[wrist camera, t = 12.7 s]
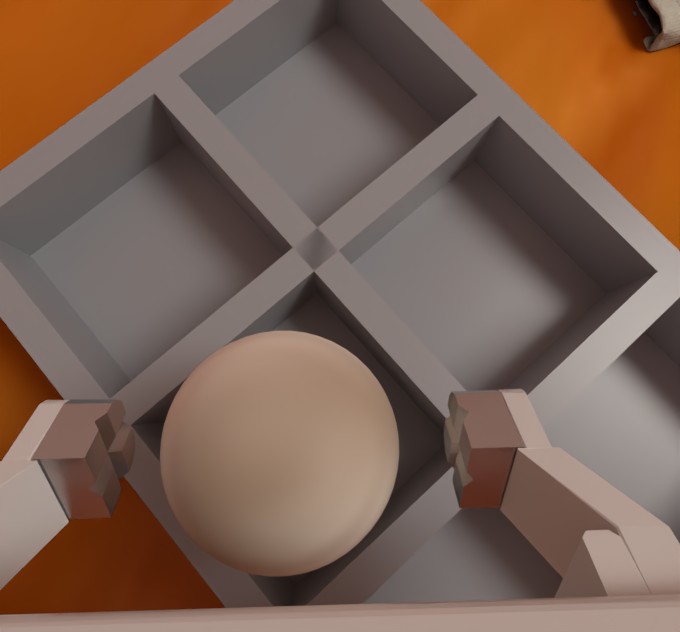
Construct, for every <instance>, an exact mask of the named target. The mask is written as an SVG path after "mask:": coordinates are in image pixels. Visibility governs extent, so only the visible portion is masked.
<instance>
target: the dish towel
mask: <svg viewBox="0 0 680 632" xmlns="http://www.w3.org/2000/svg"><path fill="white" fill-rule="evenodd" d="M635 2H636V5H637V7H638V9H639V11H640V12H641V14H642V15H643V16H644V18H645V20H646V22H647V23H648V25H649V27H650V29H651V30H652V31H653V35H651V36H647V37H646V38H644V40H643V43H644V45H645V47H646V49H647V51H649V52H652V51H656V50H661V49H665V48H667V47H670V46H672V45H675V44H678V43H680V0H635ZM633 15H635V16H637V12H636V11H635V10H634V11H633Z"/></svg>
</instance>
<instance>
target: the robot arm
mask: <svg viewBox="0 0 680 632" xmlns="http://www.w3.org/2000/svg"><path fill="white" fill-rule="evenodd" d="M448 408H449V412H450V416H449V417H448V418H447V419H446V420H445V426H444V446H445V453H446V457H447V462H448V464H449V465H450V466H452V467H453V468H454V473H453V479H452V482H453V486H454V489H455V493H456V497H457V501H458V505H459V508H501V509H500V510H501V511H502V513H503V514H504V515H505V516H506V517H507V518H508V519H509V520H510V521H511V522H512V523H513V524H514V526H515V527H516V528H517V529H518V530H519V531H520V532H521V533H522V534H523V535H524V536H525V538H526V539H527V540H528V541H529V542H530V543H531V544H532V545H533V546H534V547H535V548H536V549H537V551H538V552H539V553H540V554H541V555H542V556H543V557H544V558H545V559H546V560H547V561H548V562H549V564H550V565H551V566H552V567H553V568H554V569H555V570H556V571H557V572H558V573H559V574H560V575H561V577H562V578H563V580H562V582H561V584H560V586H559V589H558V591H557V593H556V595H555V597H554V598H533V599H500V600H467V601H435V602H403V603H370V604H338V605H306V606H273V607H241V608H209V609H177V610H144V611H111V612H78V613H45V614H12V615H0V632H680V543H679V542H678V540H677V539H676V537H675V535H674V534H673V532H672V530H671V529H670V527H669V526H668V525H666V524H665V523H663V522H662V521H661V520H659V519H658V518H656V517H655V516H654V515H652V514H651V513H650V512H648V511H647V510H645V509H644V508H643V507H641V506H640V505H638V504H637V503H636V502H634V501H633V500H632V499H630V498H629V497H627V496H626V495H625V494H623V493H622V492H621V491H619V490H618V489H616V488H615V487H614V486H612V485H611V484H609V483H608V482H607V481H605V480H604V479H603V478H601V477H600V476H598V475H597V474H596V473H594V472H593V471H592V470H590V469H589V468H587V467H586V466H585V465H583V464H582V463H580V462H579V461H578V460H576V459H575V458H574V457H572V456H571V455H569V454H568V453H567V452H565V451H564V450H562V449H561V448H560V447H552V446H551V444H550V442H549V440H548V438H547V435H546V433H545V431H544V429H543V427H542V425H541V423H540V421H539V419H538V417H537V415H536V413H535V411H534V409H533V407H532V405H531V403H530V401H529V399H528V396H527V394H526V392H525V391H523V390H522V389H504V390H480V391H451V393H450V395H449V399H448ZM125 414H126V411H125V408H124V406H123V403H122V401H120V400H117V399H70V400H45V401H44V402H42V403H40V404H39V405H38V407H37V408H36V410H35V411H34V413H33V414H32V416H31V417H30V419H29V420H28V422H27V423H26V425H25V426H24V428H23V429H22V431H21V432H20V434H19V435H18V437H17V438H16V440H15V441H14V443H13V445H12V446H11V448H10V449H9V451H8V452H7V454H6V455H5V457H4V458H3V460H2V461H0V590H1V589H2V588H3V587H4V586H5V585H6V584H7V583H8V582H9V581H10V580H11V579H12V578H13V577H14V576H15V575H16V574H17V573H18V572H19V571H20V570H21V569H22V568H23V567H24V566H25V565H26V564H27V563H28V562H29V561H30V560H31V559H32V558H33V557H34V556H35V555H36V554H37V553H38V552H39V551H40V550H41V549H42V548H43V547H44V546H45V545H46V544H47V543H48V542H49V541H50V540H51V539H52V538H53V537H54V536H55V535H56V534H57V533H58V532H59V531H60V530H61V529H62V528H63V527H64V526H65V525H66V524H68V523H69V521H68V520H73V519H92V518H110V517H111V516H112V514H113V511H114V509H115V506H116V504H117V501H118V499H119V496H120V494H121V491H122V488H121V485H120V482H119V479H121V478H122V477H123V476H124V475H125V474H127V473H128V472H129V470H130V468H131V465H132V462H133V459H134V451H135V439H134V434H133V431H132V428H131V427H130V426H129V425H127V424H126V423H125V422H123V419H124V417H125Z"/></svg>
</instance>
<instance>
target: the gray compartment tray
mask: <svg viewBox="0 0 680 632" xmlns="http://www.w3.org/2000/svg"><path fill="white" fill-rule="evenodd" d="M0 317H1V319H2V320H3V321H4V322H5V324H6V325H7V326H8V328H9V329H10V330H11V331H12V333H13V334H14V335H15V337H16V338H17V339H18V340H19V342H20V343H21V344H22V346H23V347H24V348H25V350H26V351H27V352H28V353H29V355H30V356H31V357H32V359H33V360H34V361H35V362H36V364H37V365H38V366H39V368H40V369H41V370H42V371H43V373H44V374H45V375H46V377H47V378H48V379H49V381H50V382H51V383H52V384H53V386H54V387H55V388H56V390H57V391H58V392H59V393H60V395H61V396H62V397H63V399H64V400H70V399H117V400H120V401H122V403H123V406H124V408H125V411H126V414H125V417H124V419H123V422H125V423H126V424H127V425H129V426H130V427H131V428H132V431H133V434H134V439H135V451H134V459H133V462H132V465H131V468H130V470H129V472H128V473H127V474H125V475H124V477H125V479H126V480H127V481H128V483H129V484H130V485H131V486H132V488H133V489H134V490H135V492H136V493H137V494H138V495H139V497H140V498H141V499H142V501H143V502H144V503H145V504H146V506H147V507H148V508H149V510H150V511H151V512H152V514H153V515H154V516H155V517H156V519H157V520H158V521H159V523H160V524H161V525H162V526H163V528H164V529H165V530H166V532H167V533H168V534H169V535H170V537H171V538H172V539H173V541H174V542H175V543H176V545H177V546H178V547H179V548H180V550H181V551H182V552H183V554H184V555H185V556H186V557H187V559H188V560H189V561H190V563H191V564H192V565H193V566H194V568H195V569H196V570H197V572H198V573H199V574H200V575H201V577H202V578H203V579H204V581H205V582H206V583H207V585H208V586H209V587H210V588H211V590H212V591H213V592H214V594H215V595H216V596H217V597H218V599H219V600H220V601H221V603H222V604H223V605H224V606H225V608H241V607H273V606H306V605H338V604H370V603H403V602H435V601H467V600H500V599H533V598H554V597H555V595H556V593H557V591H558V589H559V586H560V584H561V582H562V580H563V578H562V577H561V575H560V574H559V573H558V572H557V571H556V570H555V569H554V568H553V567H552V566H551V565H550V564H549V562H548V561H547V560H546V559H545V558H544V557H543V556H542V555H541V554H540V553H539V552H538V551H537V549H536V548H535V547H534V546H533V545H532V544H531V543H530V542H529V541H528V540H527V539H526V538H525V536H524V535H523V534H522V533H521V532H520V531H519V530H518V529H517V528H516V527H515V526H514V524H513V523H512V522H511V521H510V520H509V519H508V518H507V517H506V516H505V515H504V514H503V513H502V511H501V510H500V509H501V508H459V505H458V501H457V497H456V493H455V489H454V486H453V482H452V479H453V473H454V468H453V467H452V466H450V465H449V464H448V462H447V457H446V453H445V446H444V426H445V420H446V419H447V418H448V417H449V416H450V412H449V408H448V399H449V395H450V393H451V391H480V390H504V389H522V390H523V391H525V392H526V394H527V396H528V399H529V401H530V403H531V405H532V407H533V409H534V411H535V413H536V415H537V417H538V419H539V421H540V423H541V425H542V427H543V429H544V431H545V433H546V435H547V438H548V440H549V442H550V444H551V446H552V447H560V448H561V449H562V450H564V451H565V452H567V453H568V454H569V455H571V456H572V457H574V458H575V459H576V460H578V461H579V462H580V463H582V464H583V465H585V466H586V467H587V468H589V469H590V470H592V471H593V472H594V473H596V474H597V475H598V476H600V477H601V478H603V479H604V480H605V481H607V482H608V483H609V484H611V485H612V486H614V487H615V488H616V489H618V490H619V491H621V492H622V493H623V494H625V495H626V496H627V497H629V498H630V499H632V500H633V501H634V502H636V503H637V504H638V505H640V506H641V507H643V508H644V509H645V510H647V511H648V512H650V513H651V514H652V515H654V516H655V517H656V518H658V519H659V520H661V521H662V522H663V523H665V524H666V525H668V526H669V527H670V529H671V530H672V532H673V534H674V535H675V537H676V539H677V540H678V542H679V543H680V251H679V250H678V249H677V248H676V247H675V246H674V245H672V244H671V243H670V242H669V241H668V240H667V239H666V238H665V237H664V236H663V235H662V234H661V233H660V232H659V231H658V230H657V229H656V228H655V227H654V226H653V225H652V224H651V223H650V222H649V221H648V220H647V219H646V218H645V217H644V216H643V215H641V214H640V213H639V212H638V211H637V210H636V209H635V208H634V207H633V206H632V205H631V204H630V203H629V202H628V201H627V200H626V199H625V198H624V197H623V196H622V195H621V194H620V193H619V192H618V191H617V190H616V189H615V188H614V187H613V186H612V185H610V184H609V183H608V182H607V181H606V180H605V179H604V178H603V177H602V176H601V175H600V174H599V173H598V172H597V171H596V170H595V169H594V168H593V167H592V166H591V165H590V164H589V163H588V162H587V161H586V160H585V159H584V158H583V157H582V156H581V155H579V154H578V153H577V152H576V151H575V150H574V149H573V148H572V147H571V146H570V145H569V144H568V143H567V142H566V141H565V140H564V139H563V138H562V137H561V136H560V135H559V134H558V133H557V132H556V131H555V130H554V129H553V128H552V127H551V126H549V125H548V124H547V123H546V122H545V121H544V120H543V119H542V118H541V117H540V116H539V115H538V114H537V113H536V112H535V111H534V110H533V109H532V108H531V107H530V106H529V105H528V104H527V103H526V102H525V101H524V100H523V99H522V98H521V97H520V96H518V95H517V94H516V93H515V92H514V91H513V90H512V89H511V88H510V87H509V86H508V85H507V84H506V83H505V82H504V81H503V80H502V79H501V78H500V77H499V76H498V75H497V74H496V73H495V72H494V71H493V70H492V69H491V68H490V67H489V66H487V65H486V64H485V63H484V62H483V61H482V60H481V59H480V58H479V57H478V56H477V55H476V54H475V53H474V52H473V51H472V50H471V49H470V48H469V47H468V46H467V45H466V44H465V43H464V42H463V41H462V40H461V39H460V38H459V37H458V36H456V35H455V34H454V33H453V32H452V31H451V30H450V29H449V28H448V27H447V26H446V25H445V24H444V23H443V22H442V21H441V20H440V19H439V18H438V17H437V16H436V15H435V14H434V13H433V12H432V11H431V10H430V9H429V8H428V7H427V6H425V5H424V4H423V3H422V2H421V1H420V0H235V1H233V2H232V3H230V4H229V5H228V6H226V7H225V8H224V9H222V10H221V11H219V12H218V13H217V14H215V15H214V16H213V17H211V18H210V19H208V20H207V21H206V22H204V23H203V24H202V25H200V26H199V27H197V28H196V29H195V30H193V31H192V32H191V33H189V34H188V35H187V36H185V37H184V38H182V39H181V40H180V41H178V42H177V43H176V44H174V45H173V46H171V47H170V48H169V49H167V50H166V51H165V52H163V53H162V54H160V55H159V56H158V57H156V58H155V59H154V60H152V61H151V62H149V63H148V64H147V65H145V66H144V67H143V68H141V69H140V70H138V71H137V72H136V73H134V74H133V75H132V76H130V77H129V78H127V79H126V80H125V81H123V82H122V83H121V84H119V85H118V86H117V87H115V88H114V89H112V90H111V91H110V92H108V93H107V94H106V95H104V96H103V97H101V98H100V99H99V100H97V101H96V102H95V103H93V104H92V105H90V106H89V107H88V108H86V109H85V110H84V111H82V112H81V113H79V114H78V115H77V116H75V117H74V118H73V119H71V120H70V121H68V122H67V123H66V124H64V125H63V126H62V127H60V128H59V129H57V130H56V131H55V132H53V133H52V134H51V135H49V136H48V137H47V138H45V139H44V140H42V141H41V142H40V143H38V144H37V145H36V146H34V147H33V148H31V149H30V150H29V151H27V152H26V153H25V154H23V155H22V156H20V157H19V158H18V159H16V160H15V161H14V162H12V163H11V164H9V165H8V166H7V167H5V168H4V169H3V170H1V171H0ZM269 331H297V332H305V333H309V334H313V335H317V336H320V337H323V338H325V339H327V340H330V341H332V342H334V343H336V344H338V345H340V346H341V347H343V348H345V349H347V350H348V351H349V352H350V353H352V354H353V355H354V356H356V357H357V358H358V359H359V360H360V361H361V362H362V363H363V364H364V365H365V366H366V367H367V368H368V369H369V370H370V371H371V372H372V374H373V375H374V376H375V377H376V379H377V380H378V381H379V383H380V385H381V386H382V388H383V390H384V391H385V393H386V395H387V397H388V400H389V402H390V404H391V407H392V409H393V413H394V416H395V420H396V423H397V430H398V437H399V462H398V471H397V476H396V480H395V484H394V488H393V490H392V493H391V496H390V498H389V501H388V503H387V505H386V507H385V509H384V511H383V513H382V515H381V516H380V518H379V519H378V521H377V522H376V524H375V525H374V526H373V528H372V529H371V530H370V532H369V533H368V534H367V535H366V536H365V537H364V538H363V539H362V540H361V541H360V542H359V543H358V544H357V545H356V546H355V547H354V548H352V549H351V550H350V551H349V552H348V553H346V554H345V555H343V556H342V557H340V558H339V559H337V560H335V561H334V562H332V563H330V564H328V565H326V566H323V567H321V568H319V569H316V570H313V571H310V572H306V573H303V574H297V575H291V576H262V575H255V574H250V573H247V572H243V571H240V570H237V569H234V568H232V567H230V566H228V565H225V564H223V563H221V562H220V561H218V560H216V559H215V558H213V557H212V556H210V555H208V554H207V553H206V552H205V551H204V550H202V549H201V548H200V547H199V546H198V545H196V544H195V543H194V541H193V540H192V539H191V538H190V537H189V536H188V535H187V534H186V533H185V531H184V530H183V528H182V527H181V525H180V524H179V522H178V521H177V519H176V517H175V515H174V513H173V511H172V509H171V507H170V505H169V503H168V500H167V497H166V494H165V491H164V487H163V482H162V477H161V467H160V447H161V438H162V432H163V427H164V423H165V420H166V417H167V414H168V411H169V408H170V406H171V404H172V402H173V400H174V398H175V396H176V394H177V392H178V391H179V389H180V388H181V386H182V384H183V383H184V381H185V380H186V379H187V378H188V377H189V375H190V374H191V373H192V372H193V370H194V369H195V368H197V367H198V366H199V365H200V364H201V363H202V362H203V361H204V360H205V359H206V358H208V357H209V356H210V355H212V354H213V353H214V352H216V351H217V350H219V349H220V348H222V347H224V346H226V345H228V344H229V343H231V342H234V341H236V340H239V339H241V338H244V337H246V336H250V335H254V334H258V333H262V332H269Z"/></svg>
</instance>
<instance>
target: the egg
mask: <svg viewBox="0 0 680 632" xmlns="http://www.w3.org/2000/svg"><path fill="white" fill-rule="evenodd" d="M398 462H399V437H398V430H397V423H396V420H395V416H394V413H393V409H392V407H391V404H390V402H389V400H388V397H387V395H386V393H385V391H384V390H383V388H382V386H381V385H380V383H379V381H378V380H377V379H376V377H375V376H374V375H373V374H372V372H371V371H370V370H369V369H368V368H367V367H366V366H365V365H364V364H363V363H362V362H361V361H360V360H359V359H358V358H357V357H356V356H354V355H353V354H352V353H350V352H349V351H348V350H347V349H345V348H343V347H341V346H340V345H338V344H336V343H334V342H332V341H330V340H327V339H325V338H323V337H320V336H317V335H313V334H309V333H305V332H297V331H269V332H262V333H258V334H254V335H250V336H246V337H244V338H241V339H239V340H236V341H234V342H231V343H229V344H228V345H226V346H224V347H222V348H220V349H219V350H217V351H216V352H214V353H213V354H212V355H210V356H209V357H208V358H206V359H205V360H204V361H203V362H202V363H201V364H200V365H199V366H198V367H197V368H195V369H194V370H193V372H192V373H191V374H190V375H189V377H188V378H187V379H186V380H185V381H184V383H183V384H182V386H181V388H180V389H179V391H178V392H177V394H176V396H175V398H174V400H173V402H172V404H171V406H170V408H169V411H168V414H167V417H166V420H165V423H164V427H163V432H162V438H161V447H160V467H161V477H162V482H163V487H164V491H165V494H166V497H167V500H168V503H169V505H170V507H171V509H172V511H173V513H174V515H175V517H176V519H177V521H178V522H179V524H180V525H181V527H182V528H183V530H184V531H185V533H186V534H187V535H188V536H189V537H190V538H191V539H192V540H193V541H194V543H195V544H196V545H198V546H199V547H200V548H201V549H202V550H204V551H205V552H206V553H207V554H208V555H210V556H212V557H213V558H215V559H216V560H218V561H220V562H221V563H223V564H225V565H228V566H230V567H232V568H234V569H237V570H240V571H243V572H247V573H250V574H255V575H262V576H291V575H297V574H303V573H306V572H310V571H313V570H316V569H319V568H321V567H323V566H326V565H328V564H330V563H332V562H334V561H335V560H337V559H339V558H340V557H342V556H343V555H345V554H346V553H348V552H349V551H350V550H351V549H352V548H354V547H355V546H356V545H357V544H358V543H359V542H360V541H361V540H362V539H363V538H364V537H365V536H366V535H367V534H368V533H369V532H370V530H371V529H372V528H373V526H374V525H375V524H376V522H377V521H378V519H379V518H380V516H381V515H382V513H383V511H384V509H385V507H386V505H387V503H388V501H389V498H390V496H391V493H392V490H393V488H394V484H395V480H396V476H397V471H398Z"/></svg>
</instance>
